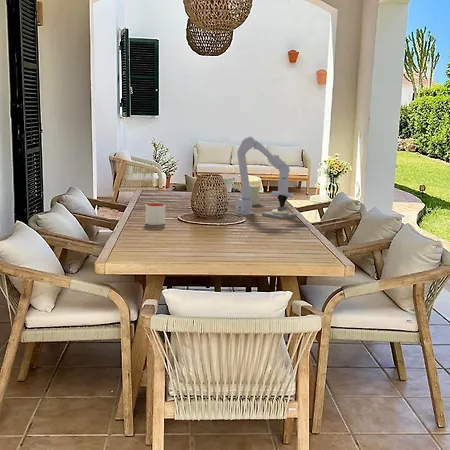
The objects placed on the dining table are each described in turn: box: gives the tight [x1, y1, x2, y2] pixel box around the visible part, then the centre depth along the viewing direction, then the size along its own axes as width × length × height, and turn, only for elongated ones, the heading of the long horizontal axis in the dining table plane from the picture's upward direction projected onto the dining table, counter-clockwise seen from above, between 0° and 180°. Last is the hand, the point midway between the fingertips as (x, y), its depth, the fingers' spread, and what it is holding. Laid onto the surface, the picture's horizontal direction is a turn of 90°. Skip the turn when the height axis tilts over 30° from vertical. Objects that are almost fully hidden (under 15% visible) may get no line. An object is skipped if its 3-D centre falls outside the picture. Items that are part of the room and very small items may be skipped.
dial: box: [271, 205, 288, 215], centre depth 349 cm, size 11×9×4 cm
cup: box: [145, 202, 166, 226], centre depth 310 cm, size 10×10×10 cm
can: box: [249, 184, 260, 206], centre depth 389 cm, size 9×9×12 cm
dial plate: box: [261, 210, 297, 220], centre depth 349 cm, size 14×14×2 cm
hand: (281, 208), depth 351 cm, fingers closed, pressing on dial
